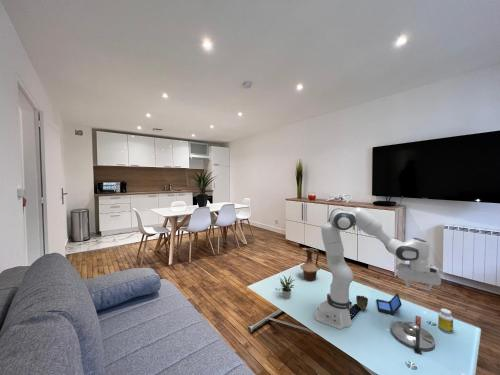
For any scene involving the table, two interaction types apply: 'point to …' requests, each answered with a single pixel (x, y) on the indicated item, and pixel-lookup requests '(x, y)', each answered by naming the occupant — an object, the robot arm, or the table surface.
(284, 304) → the table surface
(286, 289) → the house plant
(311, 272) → the pitcher
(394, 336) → the turntable base
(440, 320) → the pill bottle
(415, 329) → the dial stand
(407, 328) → the cover
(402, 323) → the turntable
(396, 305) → the handheld game console
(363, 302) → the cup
